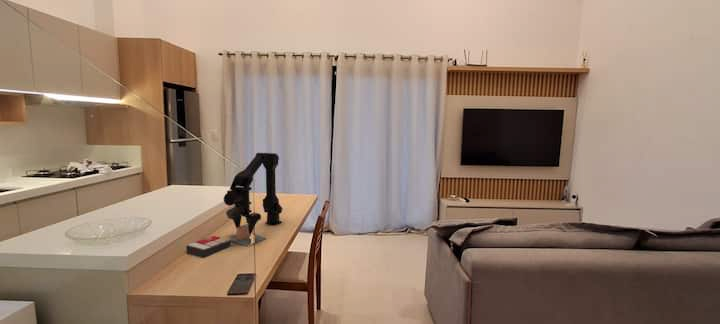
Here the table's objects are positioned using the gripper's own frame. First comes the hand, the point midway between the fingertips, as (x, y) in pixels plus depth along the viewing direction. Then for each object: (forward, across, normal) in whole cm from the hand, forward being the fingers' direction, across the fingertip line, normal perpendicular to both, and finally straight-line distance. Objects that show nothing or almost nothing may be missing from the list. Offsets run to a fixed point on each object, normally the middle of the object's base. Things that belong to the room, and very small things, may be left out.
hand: (244, 231), depth 164 cm
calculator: (+4, -2, -18) cm, 18 cm away
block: (+3, 0, 0) cm, 3 cm away
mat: (+4, +2, 0) cm, 4 cm away
